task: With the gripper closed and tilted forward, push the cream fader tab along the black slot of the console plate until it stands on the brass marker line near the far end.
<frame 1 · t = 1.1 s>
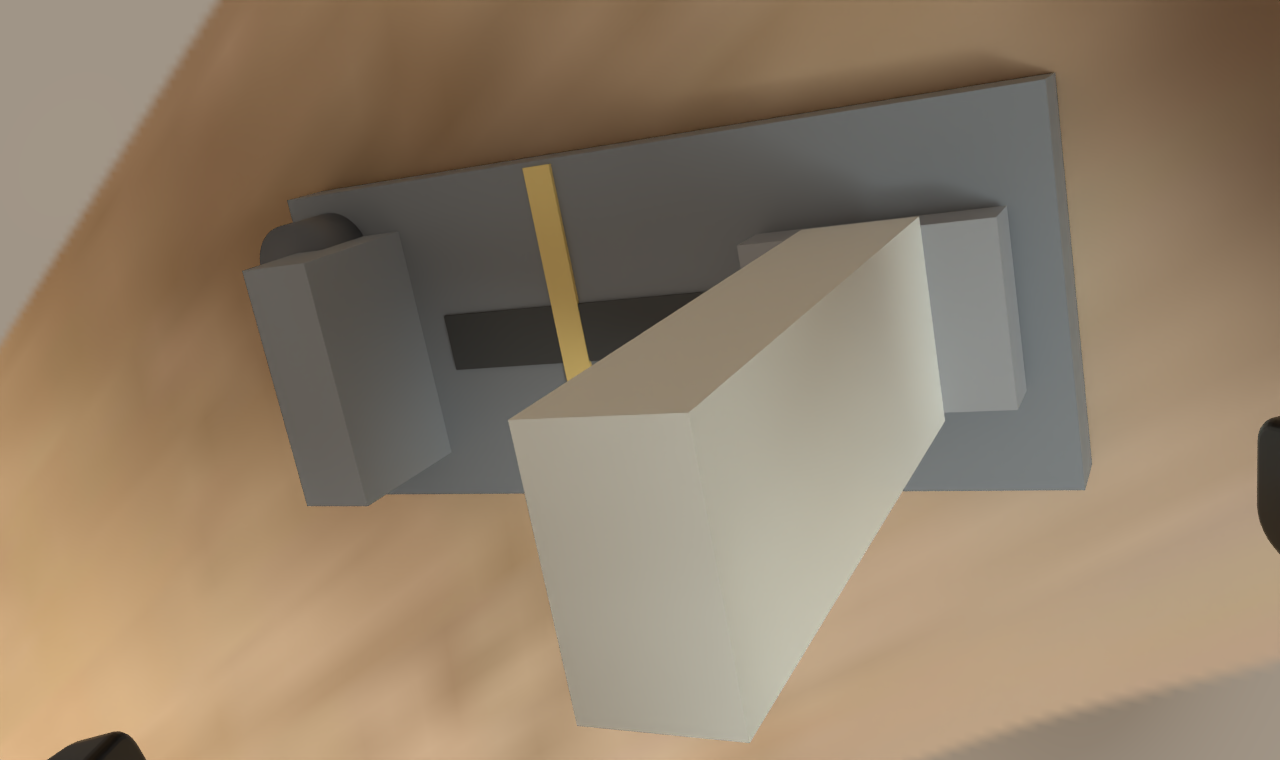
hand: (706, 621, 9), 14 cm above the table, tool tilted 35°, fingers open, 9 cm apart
fader tab: (793, 408, 16), point 7 cm above the table, slide at 0.0 cm
console: (662, 311, 24), on the table
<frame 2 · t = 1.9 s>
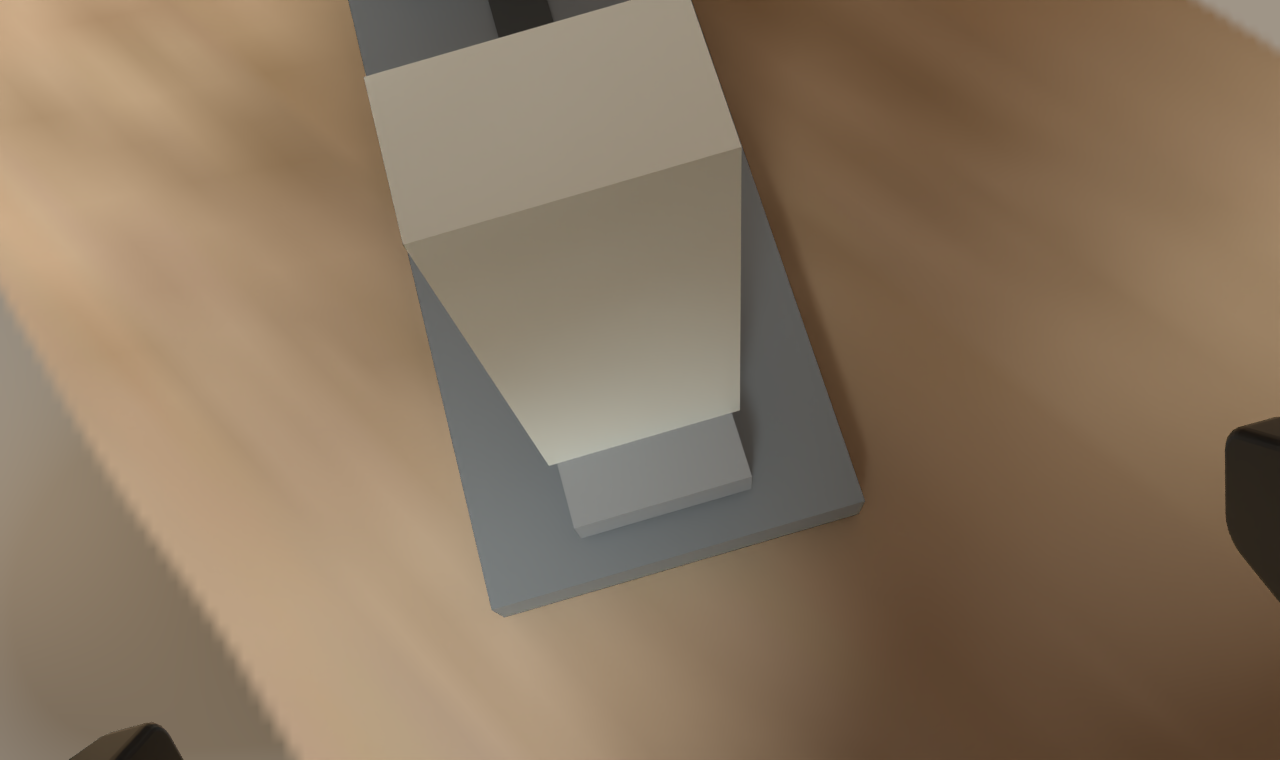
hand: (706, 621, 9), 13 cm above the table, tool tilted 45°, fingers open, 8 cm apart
fader tab: (603, 299, 17), point 7 cm above the table, slide at 0.0 cm
console: (575, 200, 25), on the table
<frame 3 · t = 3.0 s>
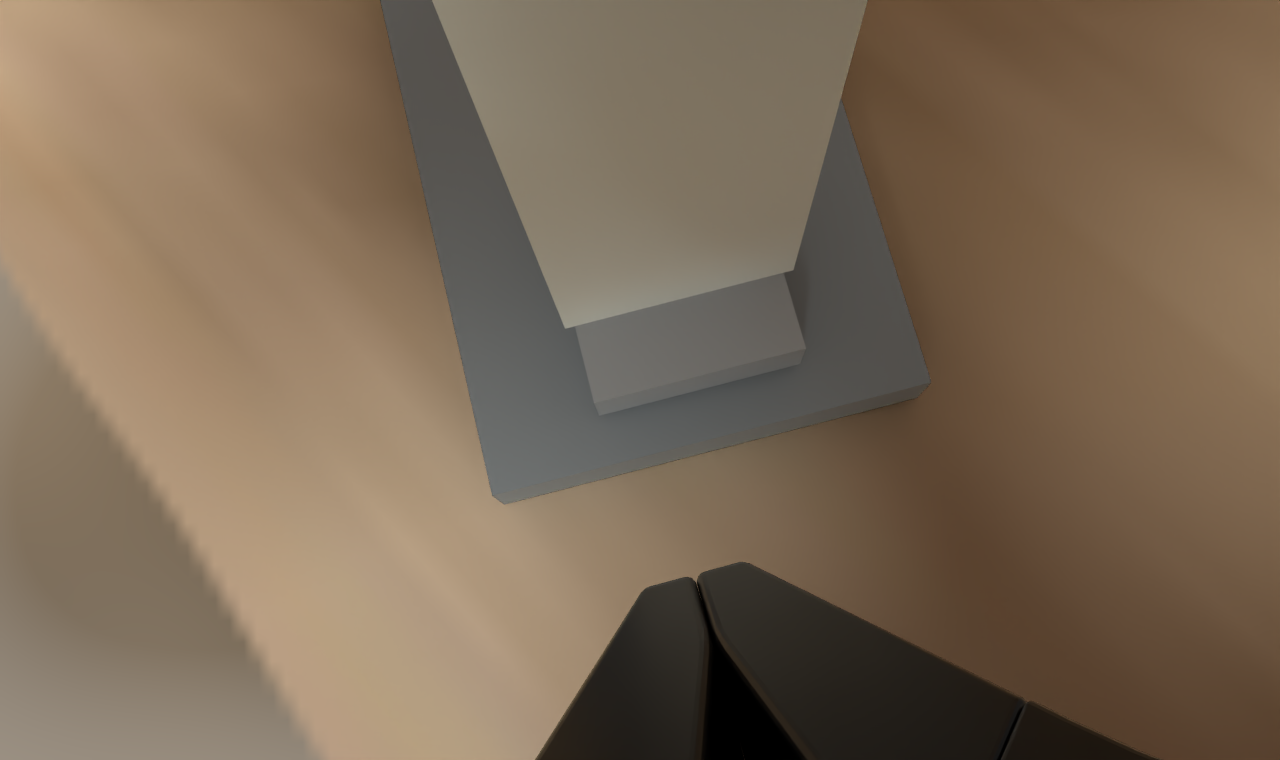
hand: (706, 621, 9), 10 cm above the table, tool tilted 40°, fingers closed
fader tab: (653, 114, 14), point 7 cm above the table, slide at 0.0 cm
console: (595, 23, 21), on the table
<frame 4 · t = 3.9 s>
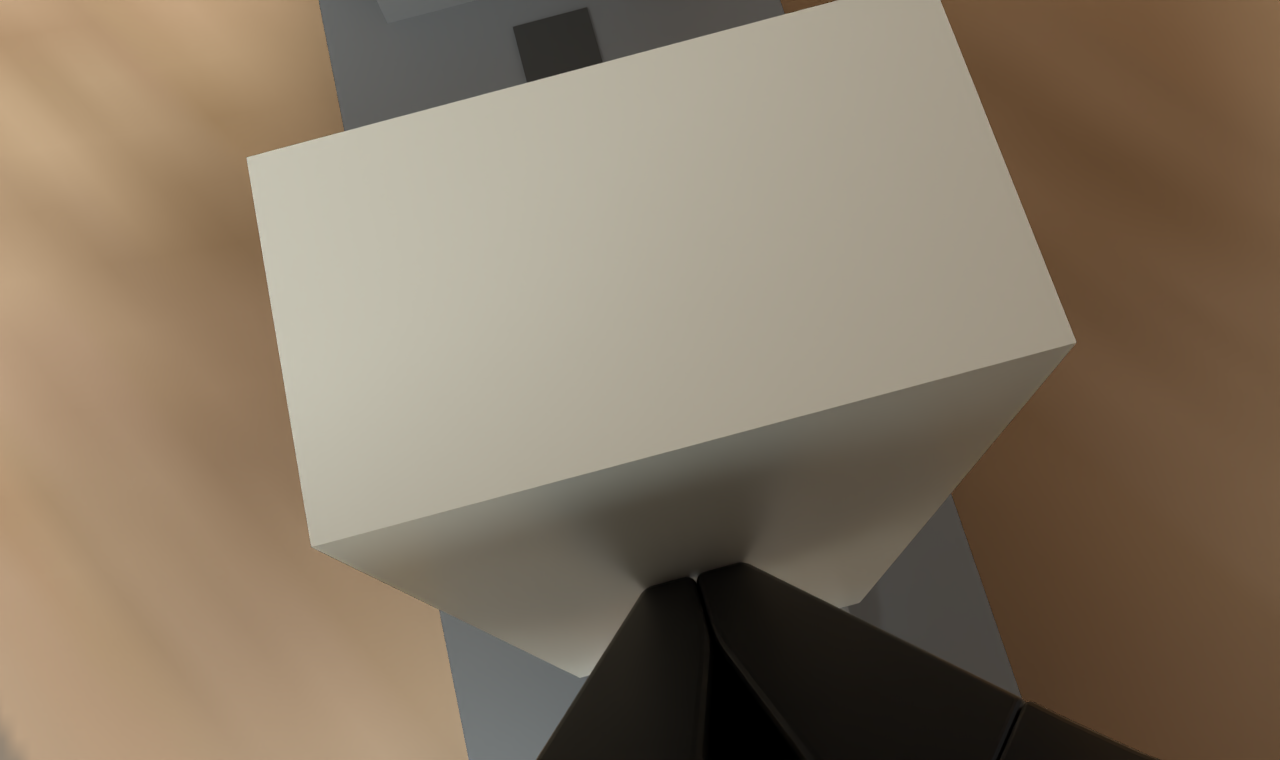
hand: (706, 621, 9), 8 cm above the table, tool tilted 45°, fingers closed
fader tab: (684, 486, 11), point 7 cm above the table, slide at 0.6 cm
console: (627, 306, 18), on the table
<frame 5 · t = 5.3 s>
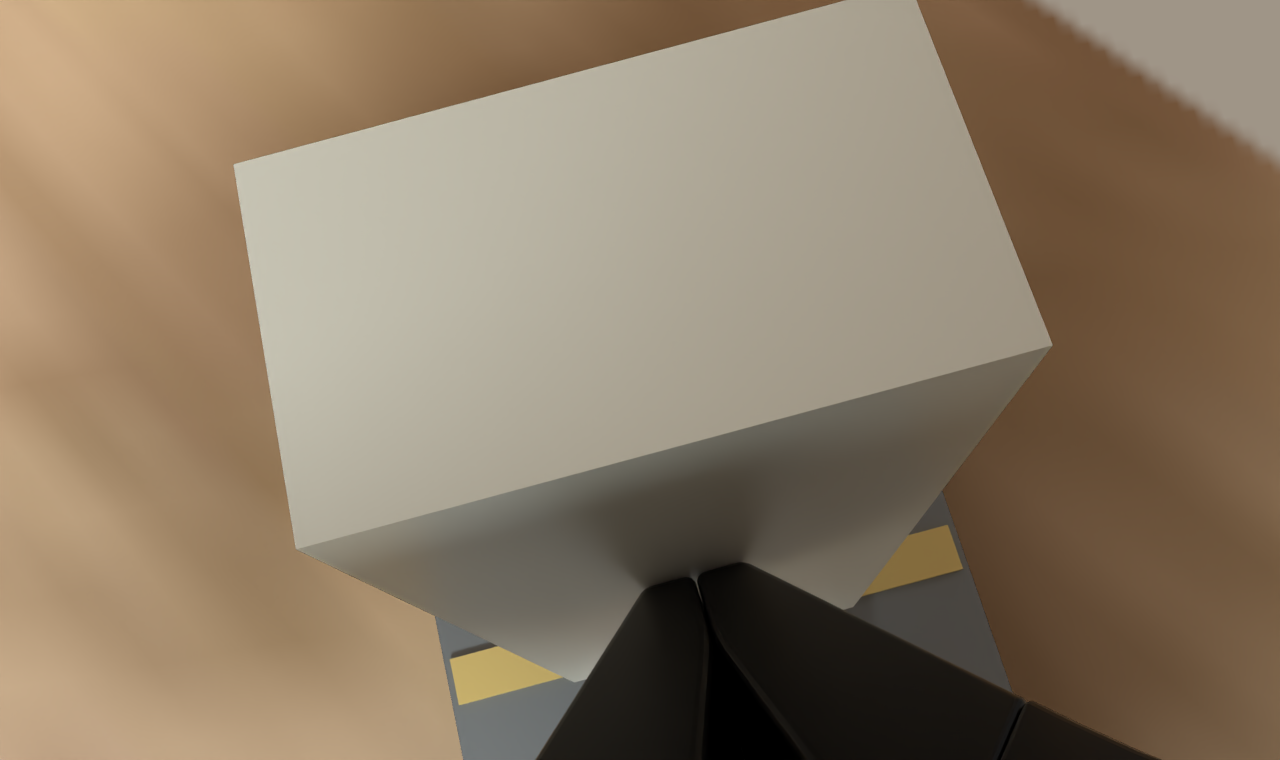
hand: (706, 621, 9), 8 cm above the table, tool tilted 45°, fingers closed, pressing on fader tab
fader tab: (675, 490, 11), point 7 cm above the table, slide at 7.0 cm, touching gripper
console: (736, 732, 16), on the table
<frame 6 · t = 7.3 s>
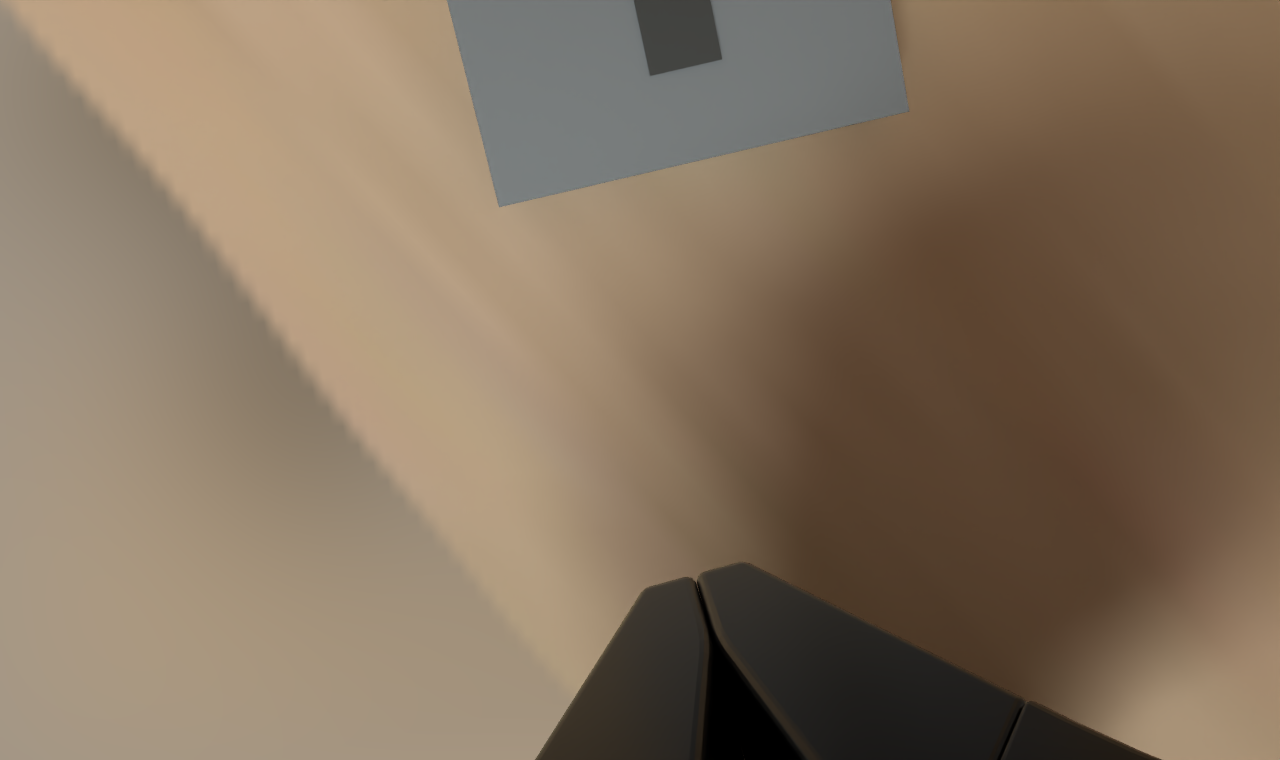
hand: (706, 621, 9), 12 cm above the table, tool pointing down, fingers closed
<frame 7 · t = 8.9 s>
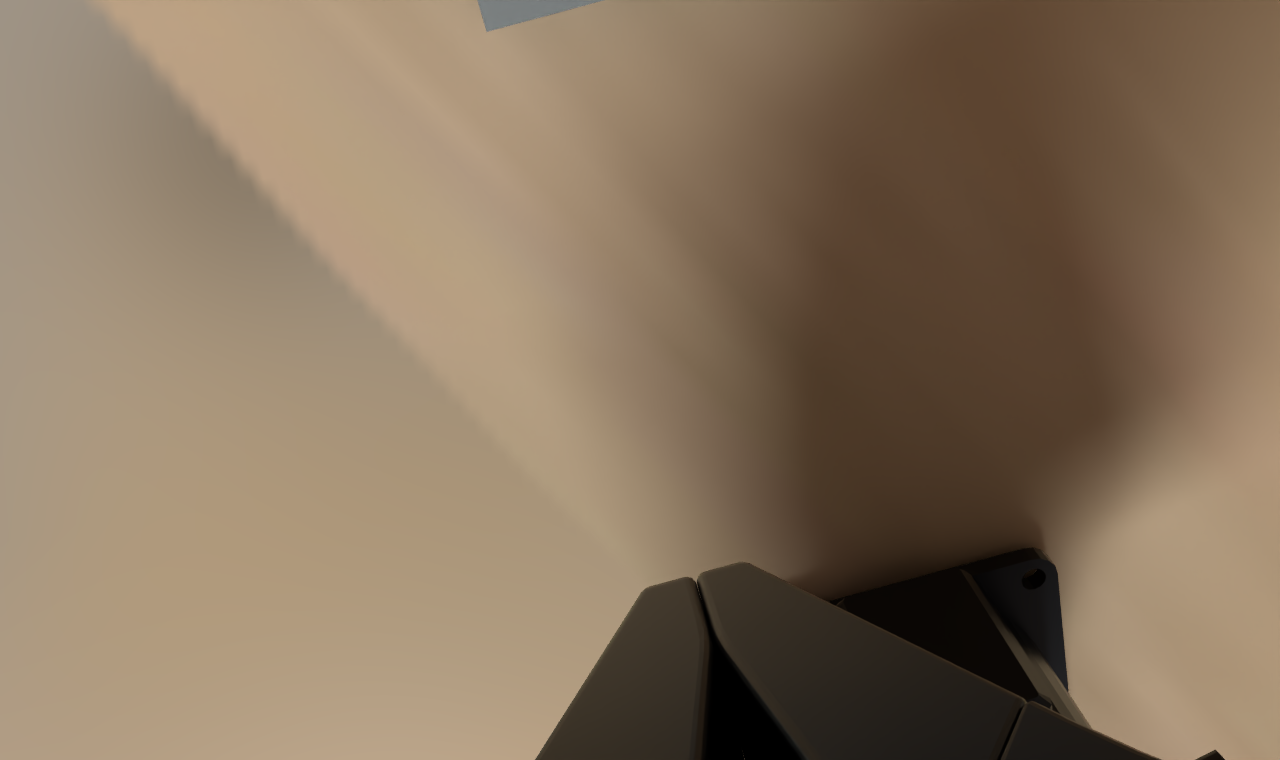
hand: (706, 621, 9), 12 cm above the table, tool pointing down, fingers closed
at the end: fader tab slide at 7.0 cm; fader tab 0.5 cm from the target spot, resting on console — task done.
